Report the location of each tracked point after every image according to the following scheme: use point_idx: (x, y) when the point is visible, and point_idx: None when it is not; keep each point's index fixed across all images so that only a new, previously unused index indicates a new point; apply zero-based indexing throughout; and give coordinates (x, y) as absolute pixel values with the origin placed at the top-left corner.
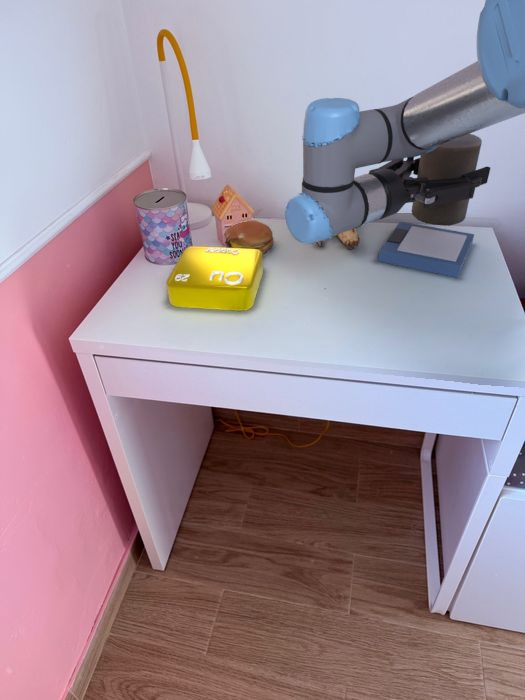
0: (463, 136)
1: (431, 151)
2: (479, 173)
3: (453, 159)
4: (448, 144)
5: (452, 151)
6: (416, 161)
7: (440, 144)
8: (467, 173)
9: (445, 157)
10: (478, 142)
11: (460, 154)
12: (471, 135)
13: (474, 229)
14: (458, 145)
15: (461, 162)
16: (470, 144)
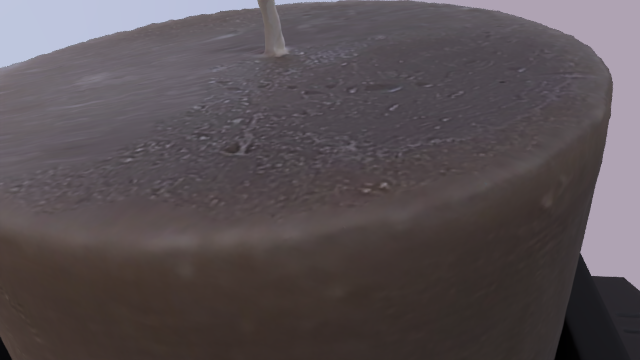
0: (326, 19)
1: (156, 349)
2: None
3: (531, 315)
4: (374, 143)
5: (522, 234)
6: (4, 350)
7: (266, 192)
8: (573, 321)
9: (439, 352)
10: (531, 24)
11: (578, 215)
12: (348, 5)
13: None
14: (501, 110)
15: (572, 283)
16: (548, 57)
